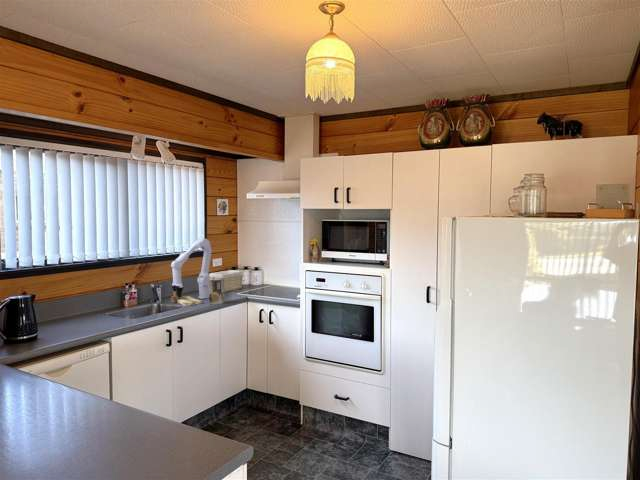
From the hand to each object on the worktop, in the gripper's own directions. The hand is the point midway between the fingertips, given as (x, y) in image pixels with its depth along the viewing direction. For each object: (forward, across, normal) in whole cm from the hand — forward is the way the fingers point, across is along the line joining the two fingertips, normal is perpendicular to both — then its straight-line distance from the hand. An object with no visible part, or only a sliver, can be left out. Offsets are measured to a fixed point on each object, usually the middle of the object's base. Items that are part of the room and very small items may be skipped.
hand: (178, 296), depth 320 cm
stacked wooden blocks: (+4, 0, +1) cm, 4 cm away
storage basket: (+4, -17, +47) cm, 50 cm away
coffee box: (+4, +26, +18) cm, 31 cm away
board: (+4, +7, +4) cm, 9 cm away
